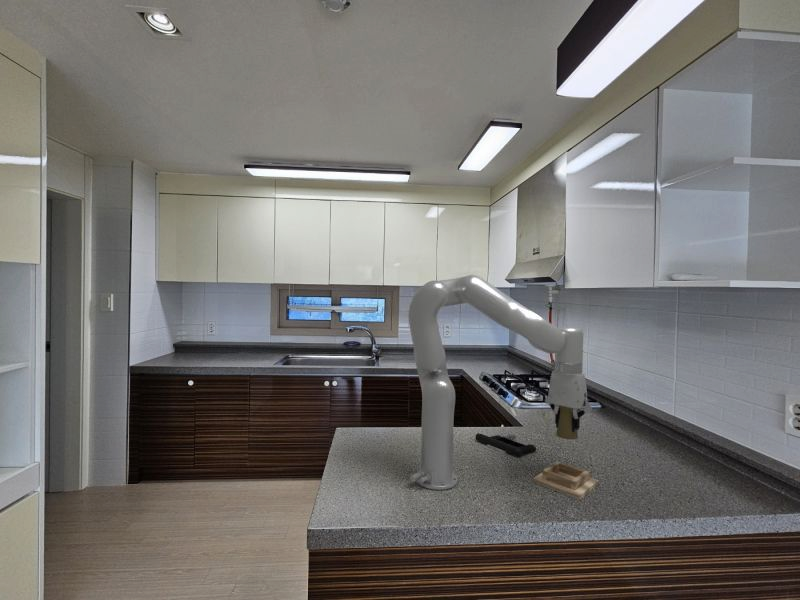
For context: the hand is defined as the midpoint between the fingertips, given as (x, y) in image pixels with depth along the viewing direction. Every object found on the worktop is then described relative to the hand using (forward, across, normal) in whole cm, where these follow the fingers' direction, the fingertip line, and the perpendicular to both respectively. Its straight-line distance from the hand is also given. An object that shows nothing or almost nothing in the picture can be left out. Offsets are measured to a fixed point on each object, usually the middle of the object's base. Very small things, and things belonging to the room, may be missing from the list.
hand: (567, 428), depth 121 cm
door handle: (+17, -28, +14) cm, 36 cm away
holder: (+17, 0, 0) cm, 17 cm away
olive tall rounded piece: (+2, 0, 0) cm, 2 cm away
